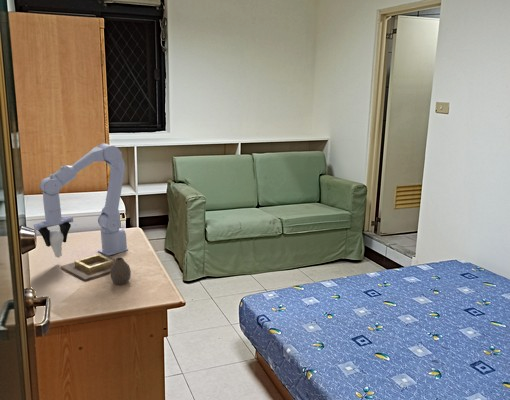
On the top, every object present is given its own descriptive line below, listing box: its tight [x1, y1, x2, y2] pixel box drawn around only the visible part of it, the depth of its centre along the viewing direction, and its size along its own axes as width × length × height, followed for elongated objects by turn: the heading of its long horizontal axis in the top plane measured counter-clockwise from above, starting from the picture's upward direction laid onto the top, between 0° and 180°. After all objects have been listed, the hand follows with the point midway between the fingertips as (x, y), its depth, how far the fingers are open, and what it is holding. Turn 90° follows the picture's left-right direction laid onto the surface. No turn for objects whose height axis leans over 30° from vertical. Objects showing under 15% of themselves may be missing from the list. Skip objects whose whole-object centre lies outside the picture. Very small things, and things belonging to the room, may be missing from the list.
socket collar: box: [74, 253, 114, 273], centre depth 186 cm, size 10×10×2 cm
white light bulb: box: [49, 229, 64, 258], centre depth 189 cm, size 6×6×11 cm
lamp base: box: [59, 253, 117, 282], centre depth 186 cm, size 18×18×1 cm
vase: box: [109, 257, 131, 286], centre depth 172 cm, size 7×7×9 cm
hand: (56, 243), depth 189 cm, fingers closed on white light bulb, 6 cm apart
